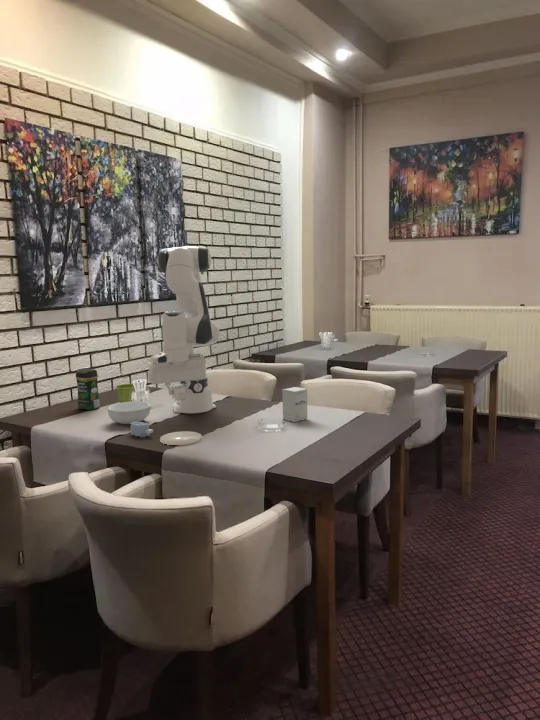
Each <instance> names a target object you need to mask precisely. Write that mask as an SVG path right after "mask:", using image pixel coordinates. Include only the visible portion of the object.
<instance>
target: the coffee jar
mask: <svg viewBox="0 0 540 720" xmlns="http://www.w3.org/2000/svg"><path fill="white" fill-rule="evenodd" d="M98 375H99V374H98V370H96V369H95V368H88V367H87V368H85V367H83V368H78V369H77V370H76V371H75V380H76V385H77V408H78V409H80V410H84V409H86V410H87V411H90V410H91V411H92V410H97V409H98V408H100V407H101V402H100V401H101V400H100V395H99V387H98V379H99V376H98ZM96 408H97V409H96Z"/></svg>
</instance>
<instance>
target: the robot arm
mask: <svg viewBox="0 0 540 720" xmlns="http://www.w3.org/2000/svg"><path fill="white" fill-rule="evenodd" d="M156 261H157V266H158V268H159V270H160V272H162V273H163V274H165V280H166V285H167V288H168V289H169V290H170V291H171V292H172V293H174V294H175V295H176V297H175V298H176V299H175V300H176V307H177V309H169V310H166V311H164V313H162V324H161V326H160V331H161V332H160V333H161V335H160V336H161V339H162V341H163V346H162V347H163V351H160V352H158V353H155V354H153V355H151V356H150V361H151V363H150V365H149V367H148V381H149V383H150V384H152V385H160V384H164V385H165V387H166V388H167V390H168V395H169V396H172V395H174V390H173V389H172V388H171V383H179V384H181V385H183V386H185V392H186V399H185V400H175V399H173V400H174V401H176V402H174V403H173V402H172V408H173V411H174V413H176V414H177V413H178V414H179V413H181V414H182V413H183V414H201V413H205V412H206V413H207V412H210V411H211V410H213V409H215V408H217V405H216V404H214V403H213V397H212V396H213V393H212V389H210V387H208V386H209V380H208V377H207V363H206V359H205V356H204V355H203V354H201V353H195V351H194V348H197V347H198V348H199V347H206V346H210V345H213V344H216V343H217V342H218V341H219V339H220V337H221V336H220V334H221V333H220V328H219V325H218V324H217V323H216V322H215V321H213V320H211V318H210V317H211V316H210V311H209V306H208V301H207V297H206V293H205V289H204V286H203V283H202V279H201V275H204V274H205V273H206V272H207V271H208V270H209V269H210V267H211V264H212V254H211V253H210V250H209V248H207V246H201V245H199V246H194V245H193V246H192V245H191V246H190V245H185V246H178V247H170V248H168V247H167V248H162V249H160V250H159V252H158V254H157V260H156ZM186 315H187V316H188V317H186Z"/></svg>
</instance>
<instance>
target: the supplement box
mask: <svg viewBox="0 0 540 720" xmlns="http://www.w3.org/2000/svg"><path fill="white" fill-rule="evenodd" d="M281 390H282V393H281V394H282V395H281V396H282V420H284V419H285V420H284V421H288V422H291V421H292V423H297V422H300V420H301V421H303V420H304V419H305V420H308V389H307V388H305V387H304V388H303V387H299V386H293V387H288V388H284V389H281ZM305 420H304V421H305Z"/></svg>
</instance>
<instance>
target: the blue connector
mask: <svg viewBox="0 0 540 720" xmlns="http://www.w3.org/2000/svg"><path fill="white" fill-rule="evenodd" d="M130 424H131V425H130V435H131V436H133V435H135V436H134V437H137V436H140V437H139V438H146V437H145V436H148V437H150V434H152V433H154V429H153V428H152V429H151V428H150V426H149V423H146V422H142V421H140V422H132V423H130Z"/></svg>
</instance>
